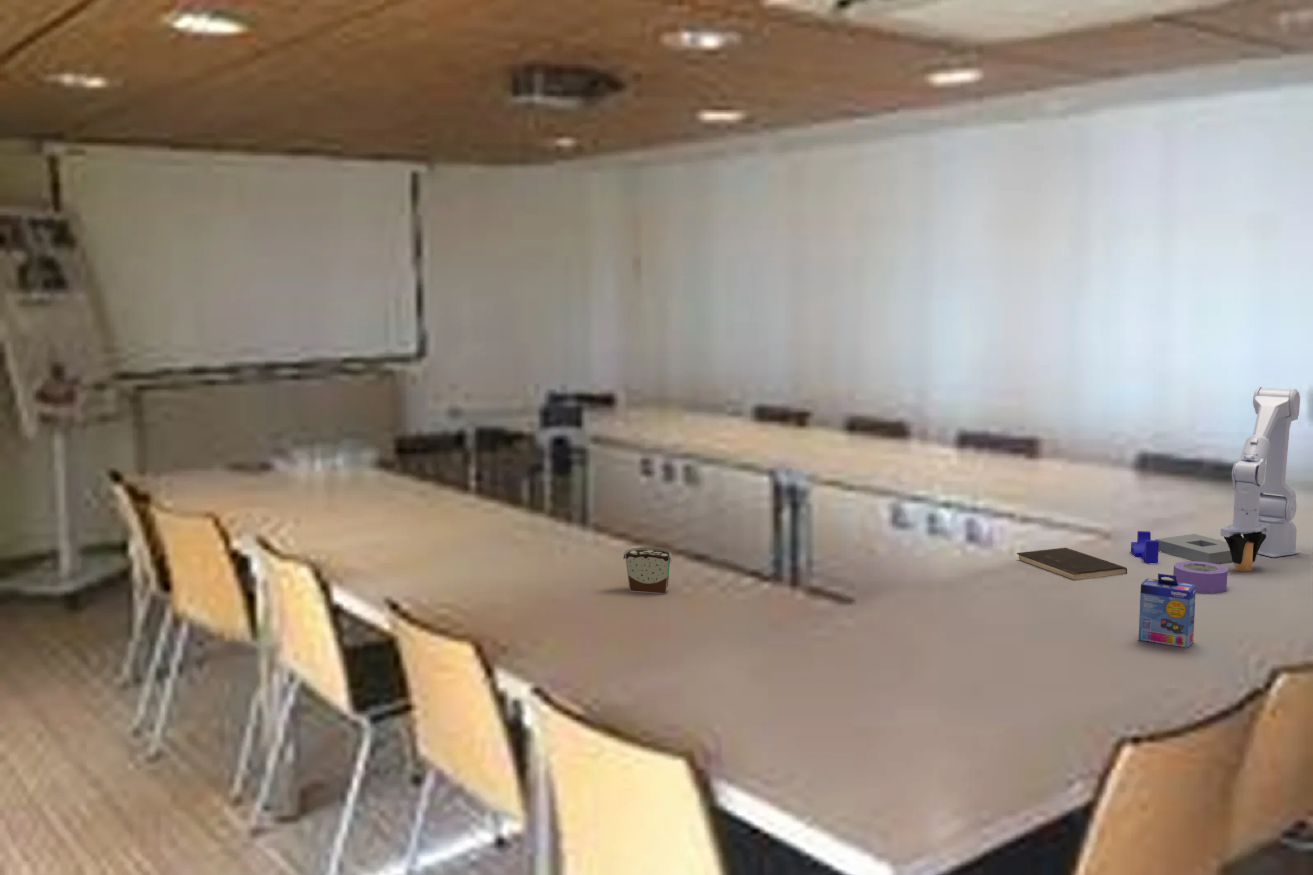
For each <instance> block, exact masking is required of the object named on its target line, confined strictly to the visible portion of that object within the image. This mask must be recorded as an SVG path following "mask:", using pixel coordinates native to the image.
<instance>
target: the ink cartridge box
mask: <svg viewBox="0 0 1313 875" xmlns="http://www.w3.org/2000/svg"><path fill="white" fill-rule="evenodd" d="M1164 578H1165V579H1164ZM1166 578H1169V579H1166ZM1173 579H1174V580H1173ZM1196 595H1197V594H1196V586H1195V585H1193V584H1187V583H1179V582H1177V578H1176V576H1175V575H1173V574H1166V573H1157V579H1154V578H1146V579H1144V581H1142V582H1141V584H1140V596H1139V597H1140V598H1139V618H1138V619H1139V620H1138V622H1139V623H1138V641H1143V642H1147V641H1149V642H1148V643H1153V642H1155V643H1154V644H1160V643H1162V644H1161V645H1166V644H1167V646H1172V645H1173V647H1177V646H1181V647H1180V648H1183V647H1188V648H1189V647H1190V646H1191V645H1192V644H1193V643H1194V642H1195V641H1194V639H1195V638H1194V636H1195V635H1194V634H1195V633H1194V632H1195V614H1196V613H1195V611H1196Z"/></svg>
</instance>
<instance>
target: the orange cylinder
mask: <svg viewBox="0 0 1313 875" xmlns="http://www.w3.org/2000/svg"><path fill="white" fill-rule="evenodd" d="M1253 563H1254V562H1253V542H1251V541H1247V542H1246V544H1245V547H1244V550H1243V558H1242V563H1241V564H1237V563H1234V567H1233V568H1234V571H1238V572H1245V573H1246V572H1248V573H1249V572H1252V571H1253Z"/></svg>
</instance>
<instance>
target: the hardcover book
mask: <svg viewBox="0 0 1313 875" xmlns="http://www.w3.org/2000/svg"><path fill="white" fill-rule="evenodd" d="M1016 555H1018V560H1019V561H1021V562H1025V563H1027V564H1030V565H1033V566H1034V567H1038V568H1041V569H1044V570H1047V571H1049V572H1052V573H1055V574H1058V575H1060V576H1062V577H1066V578H1068V579H1072V580H1074V581H1077V580H1085V579H1086V580H1087V579H1093V578H1094V579H1095V578H1102V577H1109V576H1110V577H1111V576H1117V575H1127V574H1128V568H1127V567H1126V566H1123V565H1119V564H1117V563H1114V562H1111V561H1108V560H1105V559H1102V558H1099V557H1097V556H1093V555H1089V554H1087V553H1084V552H1080V551H1078V550H1074V549H1072V548H1068V547H1059V548H1049V549H1039V550H1034V551H1033V550H1032V551H1023V552H1021V551H1020V552H1016Z"/></svg>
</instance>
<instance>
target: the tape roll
mask: <svg viewBox="0 0 1313 875" xmlns="http://www.w3.org/2000/svg"><path fill="white" fill-rule="evenodd" d="M1172 571H1173V574H1172V575H1175V576H1176V578H1177V582H1179V583H1187V584H1193V585H1195V586H1196V592H1198V593H1197V594H1218V592H1220V593H1223V591H1224V592H1225V591H1227V586H1228V572H1229V570H1228V568H1227V567H1226V566H1223V565H1221V564H1213V563H1207V562H1198V561H1192V560H1186V561H1185V560H1184V561H1178V562H1175V563H1174V564H1173V570H1172ZM1172 580H1174V579H1172Z"/></svg>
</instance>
